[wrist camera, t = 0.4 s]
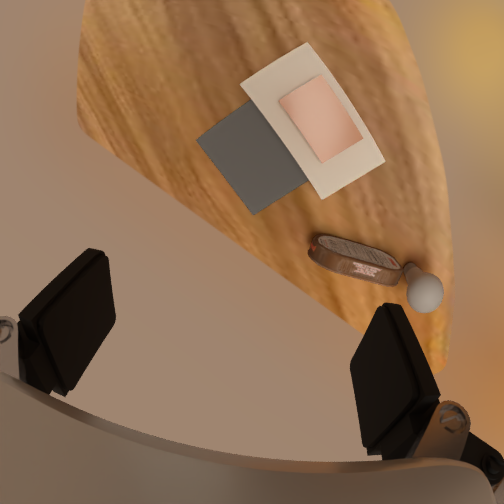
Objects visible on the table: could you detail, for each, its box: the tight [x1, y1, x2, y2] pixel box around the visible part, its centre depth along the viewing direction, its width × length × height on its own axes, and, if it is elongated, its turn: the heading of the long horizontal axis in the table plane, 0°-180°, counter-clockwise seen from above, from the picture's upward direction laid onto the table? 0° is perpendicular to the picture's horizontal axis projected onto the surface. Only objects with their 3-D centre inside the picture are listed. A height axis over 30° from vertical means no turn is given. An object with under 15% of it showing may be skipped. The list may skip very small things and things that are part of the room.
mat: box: [196, 99, 309, 215], centre depth 40 cm, size 14×10×1 cm
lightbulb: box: [403, 263, 444, 313], centre depth 41 cm, size 6×6×11 cm
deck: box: [240, 42, 386, 200], centre depth 35 cm, size 18×10×5 cm, turn 36°
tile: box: [278, 74, 363, 163], centre depth 32 cm, size 9×6×2 cm, turn 36°
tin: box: [308, 234, 403, 287], centre depth 41 cm, size 15×3×8 cm, turn 76°
